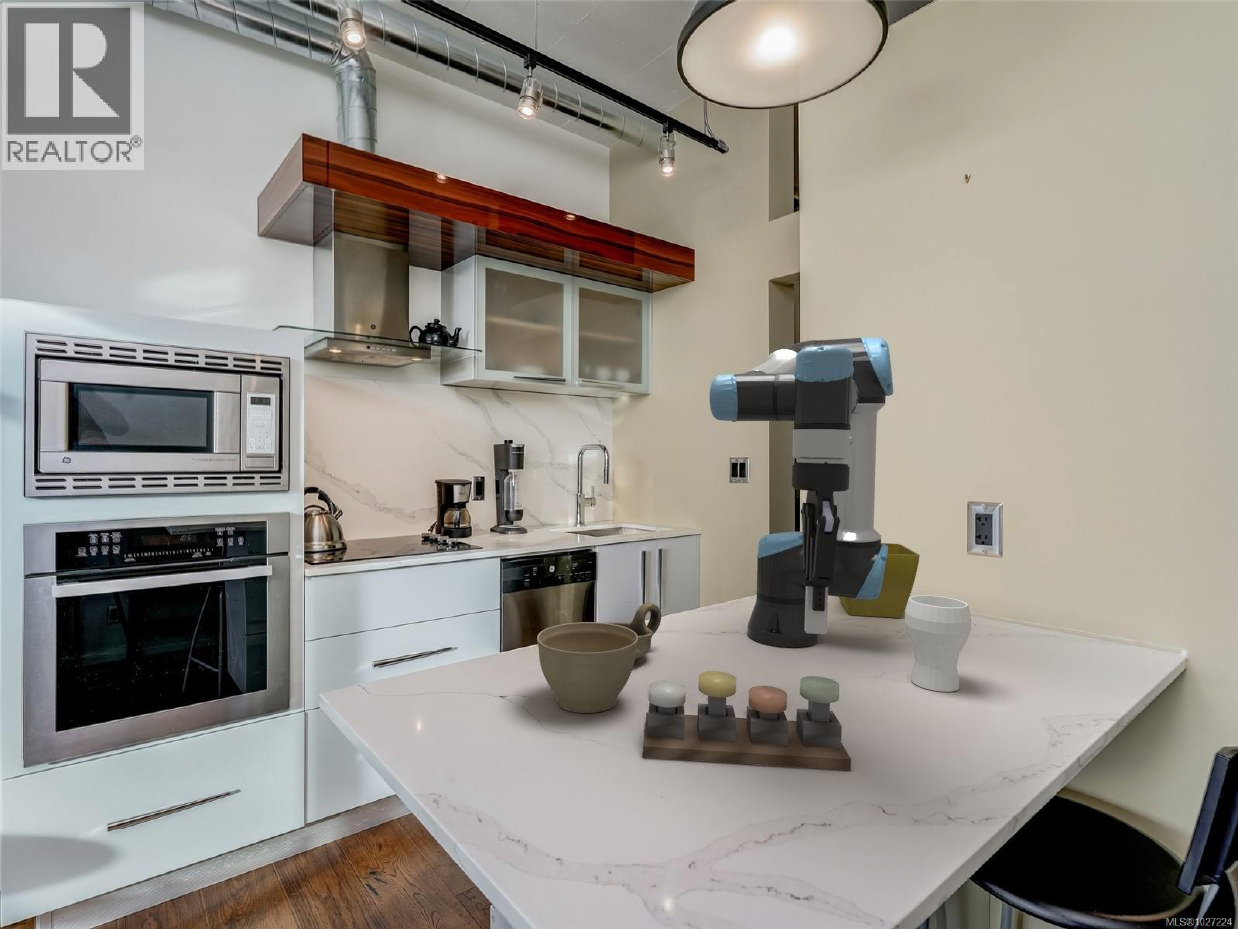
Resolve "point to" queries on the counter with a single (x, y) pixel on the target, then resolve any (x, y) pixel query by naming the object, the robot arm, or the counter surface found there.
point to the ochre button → (717, 690)
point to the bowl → (644, 627)
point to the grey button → (666, 695)
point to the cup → (937, 639)
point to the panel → (745, 739)
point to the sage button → (819, 696)
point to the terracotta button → (767, 701)
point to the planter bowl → (587, 663)
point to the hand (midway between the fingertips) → (815, 632)
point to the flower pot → (889, 586)
